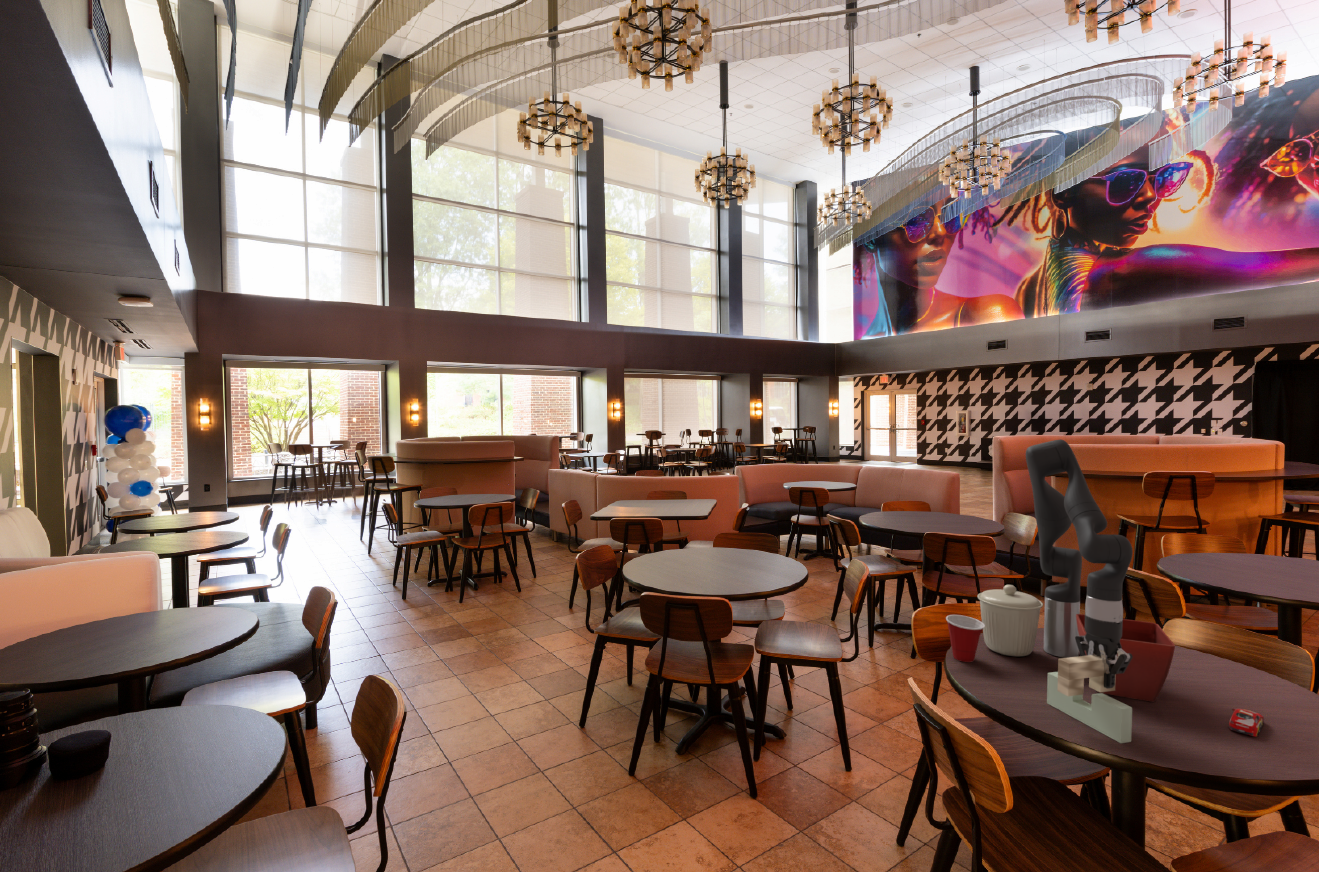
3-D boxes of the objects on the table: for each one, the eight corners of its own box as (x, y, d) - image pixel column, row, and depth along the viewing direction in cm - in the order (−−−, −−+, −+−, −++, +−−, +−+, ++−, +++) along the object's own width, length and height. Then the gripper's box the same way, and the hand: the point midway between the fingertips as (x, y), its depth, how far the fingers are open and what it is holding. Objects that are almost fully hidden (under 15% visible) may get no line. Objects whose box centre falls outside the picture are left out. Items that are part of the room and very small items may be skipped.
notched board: (1046, 703, 160) (1047, 672, 160) (1056, 701, 161) (1057, 671, 160) (1120, 743, 140) (1121, 709, 140) (1131, 741, 141) (1132, 707, 141)
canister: (1030, 667, 183) (1032, 597, 182) (967, 649, 196) (968, 584, 195) (1049, 651, 195) (1051, 585, 194) (988, 636, 208) (990, 574, 207)
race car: (1235, 715, 154) (1236, 699, 154) (1266, 723, 150) (1266, 707, 150) (1225, 731, 146) (1225, 715, 146) (1256, 741, 142) (1257, 724, 142)
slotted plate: (1103, 685, 153) (1104, 653, 153) (1115, 690, 150) (1116, 658, 150) (1057, 690, 150) (1058, 658, 150) (1068, 696, 147) (1069, 663, 147)
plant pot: (1083, 695, 164) (1085, 633, 164) (1073, 669, 181) (1075, 612, 181) (1174, 711, 155) (1176, 646, 155) (1155, 682, 172) (1157, 623, 172)
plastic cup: (978, 669, 181) (979, 629, 181) (940, 659, 189) (940, 620, 188) (988, 658, 189) (989, 619, 189) (951, 649, 196) (952, 612, 196)
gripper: (1066, 607, 157) (1064, 674, 157) (1118, 626, 143) (1116, 699, 144) (1089, 605, 158) (1088, 671, 159) (1144, 623, 145) (1142, 695, 145)
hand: (1101, 684), depth 151 cm, fingers closed on slotted plate, 3 cm apart
